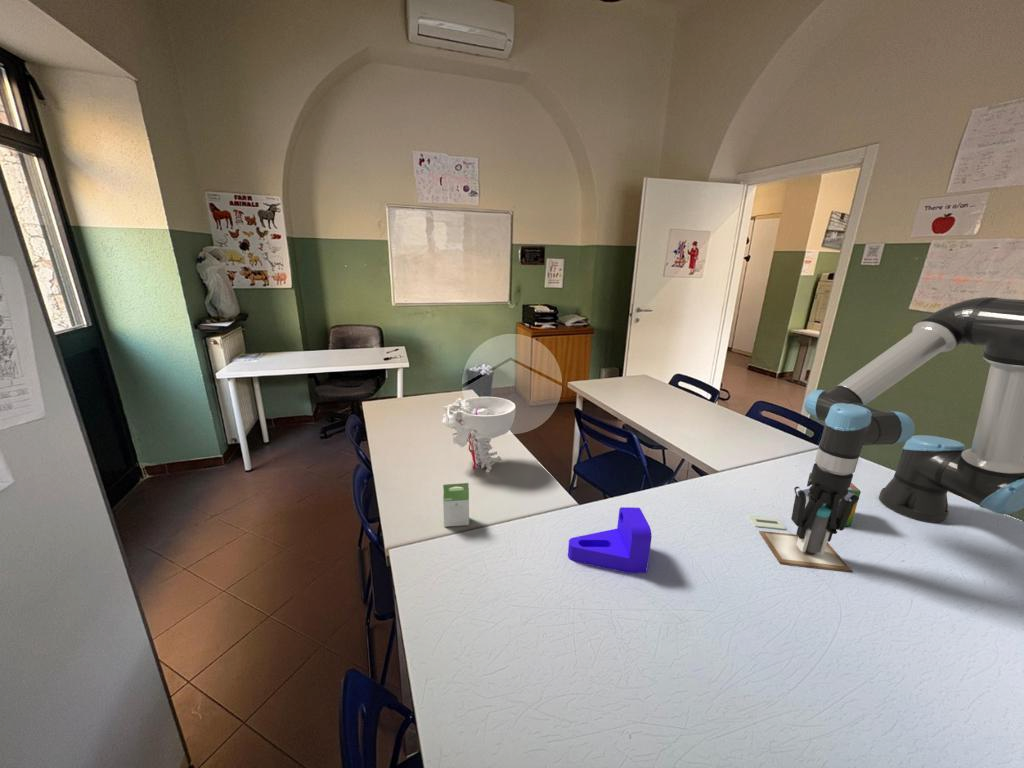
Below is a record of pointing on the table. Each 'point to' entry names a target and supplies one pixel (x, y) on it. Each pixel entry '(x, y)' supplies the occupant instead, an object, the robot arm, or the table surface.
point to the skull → (479, 425)
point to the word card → (766, 522)
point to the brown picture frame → (801, 553)
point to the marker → (818, 529)
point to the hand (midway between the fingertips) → (809, 549)
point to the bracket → (616, 544)
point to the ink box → (456, 504)
